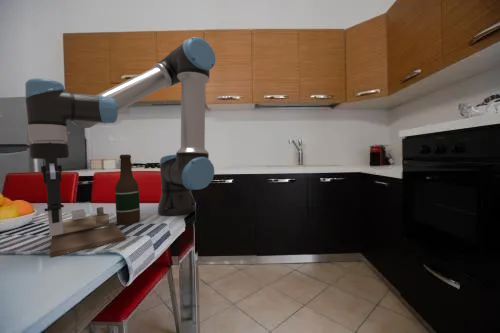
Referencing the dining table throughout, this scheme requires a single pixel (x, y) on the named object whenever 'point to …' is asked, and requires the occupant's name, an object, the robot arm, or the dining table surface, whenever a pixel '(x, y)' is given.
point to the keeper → (81, 214)
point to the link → (86, 222)
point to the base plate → (84, 239)
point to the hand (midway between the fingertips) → (56, 234)
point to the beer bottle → (127, 194)
